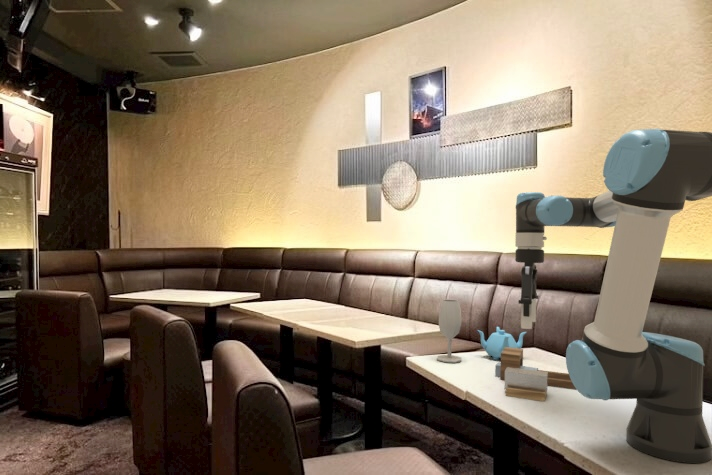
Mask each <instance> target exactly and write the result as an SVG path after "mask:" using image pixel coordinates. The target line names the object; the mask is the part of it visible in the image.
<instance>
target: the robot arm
mask: <svg viewBox="0 0 712 475" xmlns="http://www.w3.org/2000/svg"><path fill="white" fill-rule="evenodd" d="M602 176H603V178H604V180H603V182H604V186H605V187H606V189H607V190H608V191H605V192H603V193H601V194H599V195H596V196H594V197H565V196H562V195H548V196H545V194H544V193H543V192H538V191H537V192H536V191H535V192H534V191H533V192H532V191H528V192H527V191H526V192H520V193H518V195H517V196H516V204H515V240H514V241H515V247H516V250H515V262H516V263H524V264H523V266H522V269H521V271H520V273H521V274H520V275H521V293H520V299H518V305H519V304H520V305H521V306H520V329H524V330H532V329H533V323H536V322H537V321H536V320H537V300H539V299H540V297H539V295H538V294H537V293H538V292H537V280H538V269H537V266H536V264H543V263H544V262H545V251H544V249H542V248H544V247H545V241H546V240H547V239H548V238H547V236H545V227H574V228H575V227H577V228H578V227H583V228H584V227H585V228H600V229H603V228H613V229H614V230H613V231H612V232H613V233H612V238H611V242H610V245H609V246H610V247H609V253H608V256H607V262H606V266H605V271H604V275H603V280H602V284H601V289H600V293H599V297H598V303H597V308H596V311H595V316H594V321H593V322H591V323H589V324H587V325H585V326H584V329H583V331H582V332H583V334H582V336H581V337H582V338H581V340H579V339H576V340H573V341H571V342H569V344H568V345H567V348H566V351H565V352H566V353H565V365H566V369H567V374H569V376H570V379H571V381H572V383H573V385H574V386H575V388H576V389H577V392H578V393H580V395H581V396H583V397H585V398H586V399H589V400H602V401H608V400H636V403H635V407H634V410H633V412H632V413H631V414H632V415H631V417H630V419H629V422H628V423H627V426H626V433H625V434H626V435H625V438H626V442H627V443H628V444H629V445H630V446H631V447H633V448H635V449H636V450H638V451H640V452H643V453H645V454H647V455H650V456H652V457H655V458H659V459H662V460H667V461H672V462H676V463H677V462H678V463H688V464H701V463H707V462H709V461H711V459H712V441H711V437H710V435H709V432H708V429H707V427H706V426H707V425H706V424H705V420H704V417H703V398H704V397H703V396H704V372H705V371H704V370H705V363H704V350H703V347H702V346H701V345H700V344H698V343H697V342H695V341H692V340H688V339H684V338H681V337H676V336H672V335H667V334H660V333H654V332H648V331H643V330H644V326H645V323H646V318H647V315H648V310H649V306H650V301H651V298H652V294H653V290H654V286H655V283H656V277H657V274H658V270H659V266H660V263H661V262H660V261H661V258H662V254H663V250H664V246H665V242H666V238H667V233H668V230H669V226H670V222H671V218H673V217H674V216H675V215H677V214H679V213H680V212H682V211H683V209H684V207H685V203H686V201H687V202H695V201H699V200H704V199H706V198H709V197H712V132H711V131H691V130H689V131H688V130H676V129H661V128H646V129H645V128H644V129H643V128H642V129H633V130H631V131H628V132H625V133H624V134H622V135H621V136H620V138H619V139H617V140H616V141H615V142H614V143H613V144H612V146H611V147H610V149H609V151H608V152H607V155H606V156H605V160H604V163H603V169H602ZM576 389H575V390H576Z"/></svg>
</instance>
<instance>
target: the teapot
mask: <svg viewBox="0 0 712 475" xmlns="http://www.w3.org/2000/svg"><path fill="white" fill-rule="evenodd" d="M476 331H477V332H478V333H479V335H480V345H481V347H482V348H483V349H484V351H485V352H486V354H487V355H489V357H491V356H492V357H491V358H492V359H493V360H492V361H499V359H501V352H502V351H503V350H504V348H505V347H510V348H519V349H522V347H523V342H524V340H523V339H524V336H525V334H526V333H527V331H523V332H521V333H520V334H519V337H518V341H517V342H516V339H515V337H514V336H513V335H512V334H511V333H507V332H506V331H505V329H501V328H500V326H496V332H492V333H491V334H490V335H489V337H488V339H487V340H485V334H484V331H481V330H479V329H477V330H476Z"/></svg>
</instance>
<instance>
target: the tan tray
mask: <svg viewBox="0 0 712 475" xmlns="http://www.w3.org/2000/svg"><path fill="white" fill-rule="evenodd" d="M505 396H506V397H512V398H519V399H527V400H532V401H538V402H539V401H541V402H546V398H547V395H545V392H538V391H530V390H523V389H516V388H509V387H506V389H505Z"/></svg>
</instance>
